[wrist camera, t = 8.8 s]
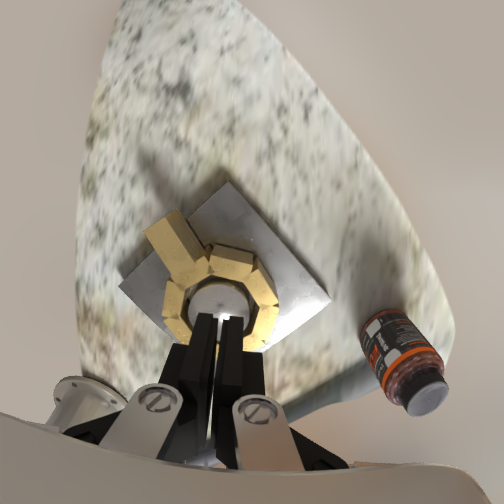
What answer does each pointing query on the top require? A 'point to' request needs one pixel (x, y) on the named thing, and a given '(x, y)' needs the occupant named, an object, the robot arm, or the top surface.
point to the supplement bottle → (404, 363)
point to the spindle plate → (240, 236)
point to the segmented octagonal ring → (201, 266)
